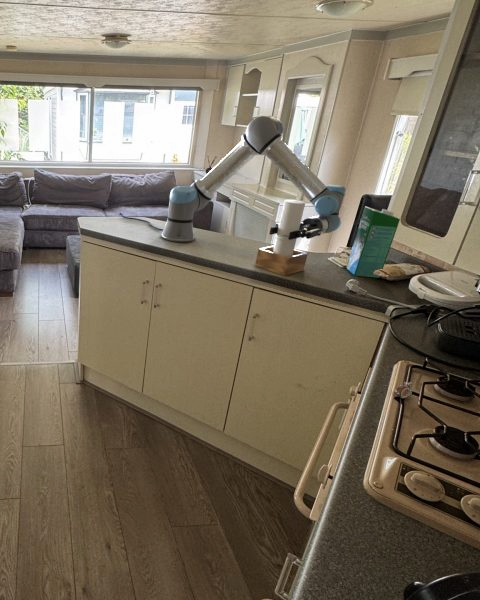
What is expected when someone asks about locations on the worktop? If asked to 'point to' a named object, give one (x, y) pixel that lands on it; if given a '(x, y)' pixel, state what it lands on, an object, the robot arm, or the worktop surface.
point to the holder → (280, 261)
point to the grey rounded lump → (403, 390)
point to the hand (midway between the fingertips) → (280, 233)
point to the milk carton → (372, 242)
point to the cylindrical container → (288, 227)
